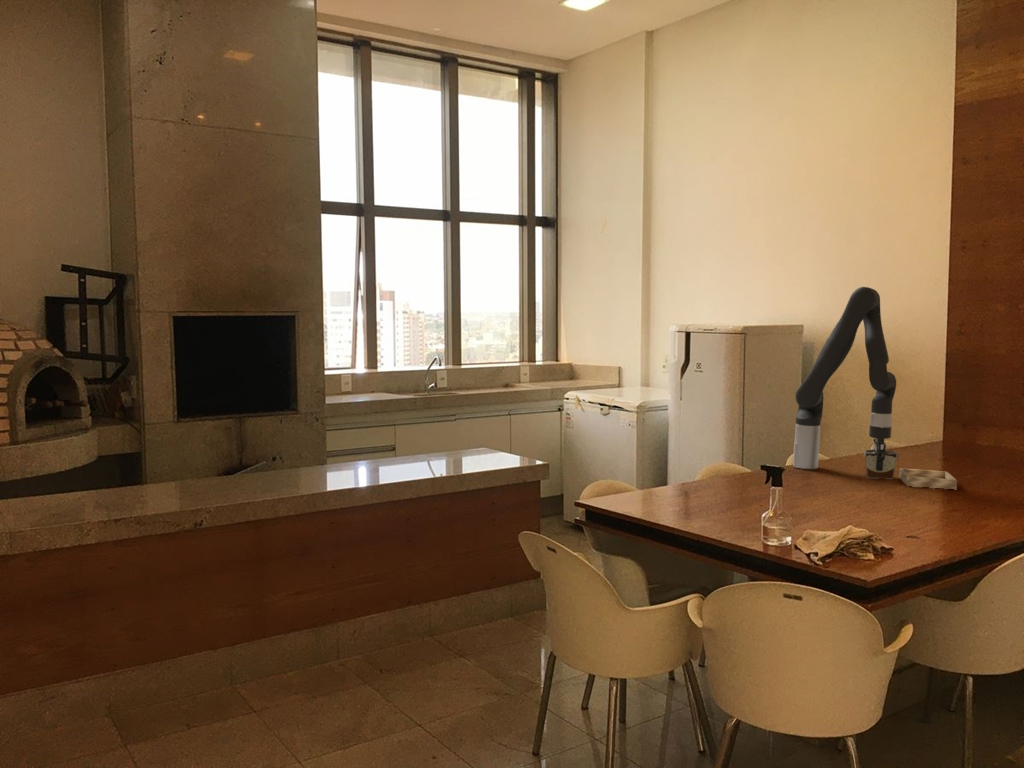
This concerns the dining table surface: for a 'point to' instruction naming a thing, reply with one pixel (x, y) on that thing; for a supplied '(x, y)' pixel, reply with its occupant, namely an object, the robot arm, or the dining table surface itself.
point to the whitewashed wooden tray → (928, 478)
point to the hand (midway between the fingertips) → (877, 468)
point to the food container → (887, 464)
